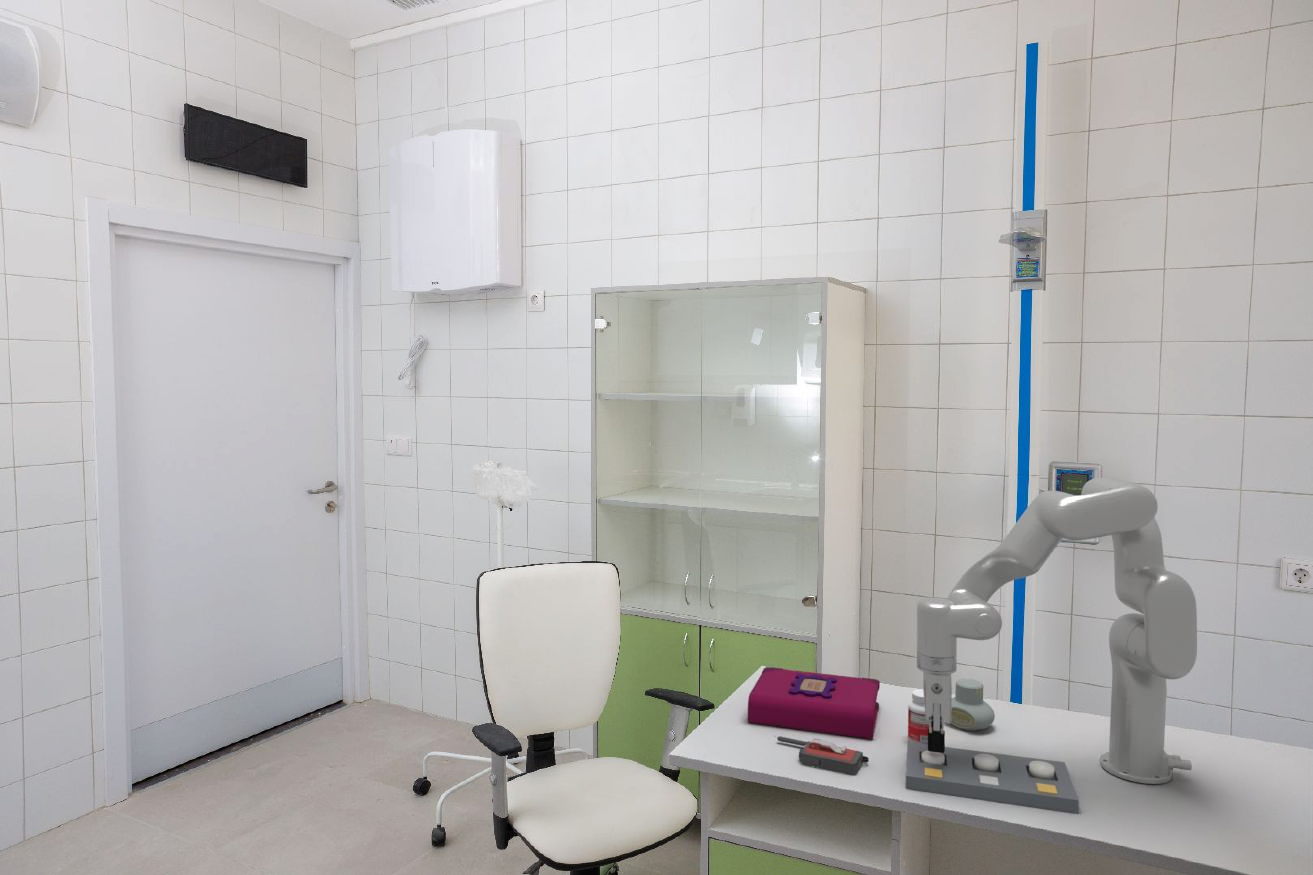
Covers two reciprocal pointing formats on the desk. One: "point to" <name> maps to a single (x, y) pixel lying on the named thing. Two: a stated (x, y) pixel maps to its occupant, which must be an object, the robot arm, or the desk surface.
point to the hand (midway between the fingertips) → (936, 750)
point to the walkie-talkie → (828, 756)
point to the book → (815, 702)
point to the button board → (991, 779)
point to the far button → (933, 758)
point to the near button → (1041, 770)
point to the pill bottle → (917, 719)
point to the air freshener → (970, 706)
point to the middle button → (986, 762)
